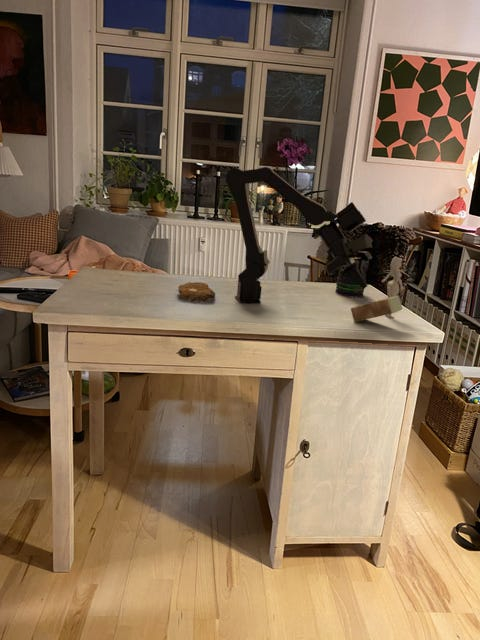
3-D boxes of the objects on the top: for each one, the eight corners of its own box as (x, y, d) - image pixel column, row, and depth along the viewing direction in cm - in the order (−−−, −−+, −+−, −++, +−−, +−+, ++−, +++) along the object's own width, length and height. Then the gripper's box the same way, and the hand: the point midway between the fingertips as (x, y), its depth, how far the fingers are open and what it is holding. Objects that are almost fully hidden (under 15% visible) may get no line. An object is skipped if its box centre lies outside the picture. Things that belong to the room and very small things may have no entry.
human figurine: (403, 322, 146) (415, 261, 141) (391, 322, 145) (402, 260, 140) (383, 311, 157) (393, 254, 152) (372, 311, 156) (382, 253, 151)
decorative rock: (174, 291, 160) (180, 306, 147) (174, 279, 159) (180, 292, 145) (209, 290, 163) (219, 304, 149) (210, 278, 162) (219, 291, 148)
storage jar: (369, 296, 177) (376, 253, 172) (350, 298, 171) (357, 254, 166) (347, 289, 184) (353, 248, 180) (329, 291, 178) (335, 249, 174)
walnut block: (350, 308, 142) (390, 298, 134) (359, 305, 147) (398, 295, 139) (354, 322, 142) (394, 312, 134) (363, 318, 147) (402, 309, 139)
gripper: (341, 225, 133) (374, 274, 129) (370, 223, 147) (400, 267, 144) (312, 250, 139) (342, 297, 136) (342, 246, 154) (370, 289, 151)
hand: (365, 287), depth 141 cm, fingers closed
